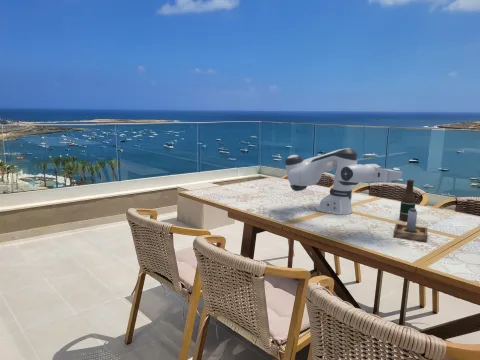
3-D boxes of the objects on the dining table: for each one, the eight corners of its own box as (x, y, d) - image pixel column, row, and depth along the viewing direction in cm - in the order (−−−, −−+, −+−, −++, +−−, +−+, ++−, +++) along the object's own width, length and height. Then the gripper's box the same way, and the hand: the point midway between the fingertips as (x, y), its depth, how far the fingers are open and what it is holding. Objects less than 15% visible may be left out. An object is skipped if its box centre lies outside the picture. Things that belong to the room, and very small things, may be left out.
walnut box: (393, 237, 182) (393, 230, 181) (395, 229, 195) (395, 223, 194) (426, 242, 175) (427, 235, 175) (426, 233, 189) (427, 227, 188)
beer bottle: (412, 219, 216) (416, 179, 211) (414, 222, 208) (419, 181, 204) (398, 217, 218) (402, 178, 213) (400, 221, 210) (404, 180, 206)
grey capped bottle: (405, 234, 184) (408, 209, 182) (406, 232, 188) (408, 207, 185) (414, 235, 182) (417, 210, 180) (414, 233, 186) (417, 208, 184)
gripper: (357, 175, 188) (379, 175, 193) (386, 182, 169) (409, 181, 174) (358, 163, 187) (380, 163, 192) (387, 169, 168) (410, 168, 173)
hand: (394, 172), depth 183 cm, fingers open, 8 cm apart
